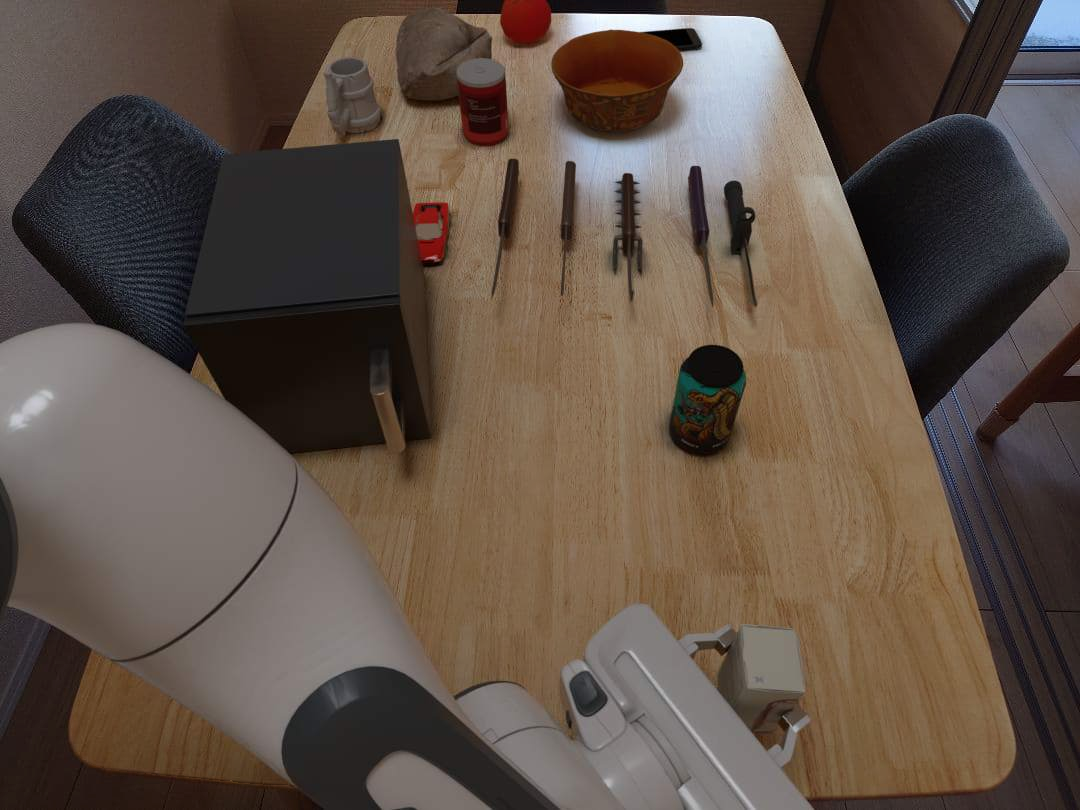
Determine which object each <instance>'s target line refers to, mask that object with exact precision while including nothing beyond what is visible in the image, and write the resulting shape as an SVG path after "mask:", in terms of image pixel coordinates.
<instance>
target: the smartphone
mask: <svg viewBox="0 0 1080 810" xmlns="http://www.w3.org/2000/svg"><path fill="white" fill-rule="evenodd" d="M641 32H642V33H647V34H650V35H654V36H657V37H660V38H662V39H665V40H667V41H669V42H670V43H672V44H673V45H674V46H675V47H676V48H677V49H678V50H679V51H684V50H696V49H697V50H698V49H700V48H702V47H703V42H702V40H701V38H700V36H699V35H698V33H697V30H696V29H695V28H692V27H685V28H673V29H661V30H648V31H647V30H646V31H641Z"/></svg>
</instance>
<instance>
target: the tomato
mask: <svg viewBox="0 0 1080 810" xmlns="http://www.w3.org/2000/svg"><path fill="white" fill-rule="evenodd" d="M499 24H500V27H501V29H502V31H503V34H504V35H505V37H507V38H508V39H510V40H511V41H513V42H514V43H518V44H532V43H535V42H538V41H539V40H541V39H543V38H544V37H545V36H546V34H547V32H548V31H549V30H550V28H551V24H552V9H551V6H550V4H549V2H548V1H547V0H504V1H503V3H502V6H501V10H500V19H499Z"/></svg>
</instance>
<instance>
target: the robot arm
mask: <svg viewBox="0 0 1080 810" xmlns="http://www.w3.org/2000/svg"><path fill="white" fill-rule="evenodd" d="M7 607H10V608H13V609H16V610H19V611H22V612H24V613H27V614H29V615H31V616H34V617H36V618H37V619H39V620H42V621H43V622H45V623H47V624H49V625H51V626H52V627H54V628H57V629H58V630H60V631H62V632H63V633H65V634H67V635H68V636H70V637H71V638H73V639H75V640H76V641H77V642H79V643H81V644H82V645H84V646H85V647H88V648H89V649H90V650H92V651H93V652H95V653H97V654H98V655H101V656H102V657H104V658H106V659H107V660H109V661H110V662H112V663H113V664H115V665H117V666H119V667H120V668H122V669H123V670H125V671H127V672H128V673H130V674H131V675H134V676H135V677H137V678H138V679H139V680H142V681H143V682H144V683H146V684H148V685H150V686H151V687H153V688H154V689H156V690H157V691H159V692H160V693H162V694H164V695H165V696H167V697H169V698H170V699H172V700H173V701H175V702H176V703H178V704H180V705H181V706H182V707H184V708H185V709H187V710H188V711H190V712H192V713H193V714H195V715H196V716H198V717H199V718H201V719H202V720H203V721H205V722H207V723H208V724H209V725H211V726H213V727H214V728H215V729H217V730H218V731H220V732H221V733H223V734H224V735H226V736H227V737H229V738H230V739H232V740H233V741H234V742H236V743H237V744H238V745H239V746H241V747H242V748H243V749H245V750H246V751H248V752H249V753H251V754H252V755H253V756H254V757H256V758H257V759H258V760H260V761H261V763H263V764H264V765H266V766H267V767H268V768H269V769H271V770H272V771H273V772H275V773H276V774H277V775H278V776H280V777H281V778H283V779H284V780H285V781H287V782H288V783H289V784H291V785H292V786H294V787H295V788H297V789H298V790H299V791H300V792H301V793H303V794H304V795H305V796H306V797H308V798H309V799H310V800H311V801H312V802H314V803H315V804H317V805H318V806H319V807H320V808H322V809H323V810H815V808H814V807H813V806H812V805H811V803H810V802H809V801H808V800H807V799H806V797H805V796H804V795H803V794H802V792H801V790H799V789H798V787H797V786H796V784H794V782H793V781H792V780H791V779H790V778H789V776H788V775H787V774H786V773H785V771H784V770H783V769H784V767H786V766H787V764H789V762H790V761H791V760H792V758H793V754H794V750H795V746H796V742H797V738H798V734H799V733H800V732H801V731H802V730H804V729H805V728H806V727H807V726H808V725H809V724H810V723H811V722H812V721H813V719H812V718H811V717H810V716H809V714H807V713H806V712H805V710H804V709H803V708H802V707H801V706H800V705H799V704H798V703H796V704H795V706H794V707H793V708H792V709H791V711H788V712H787V713H786V714H784V715H783V716H782V717H781V718H780V720H779V721H778V722H777V723H778V725H779V726H778V727H780V729H781V730H782V731H783V735H782V739H781V742H780V744H778V743H775V744H774V745H773V746H771V748H768V750H767V749H766V748H765V746H764V745H763V744H762V743H761V742H760V741H759V739H758V737H756V735H755V734H754V733H752V732H751V731H750V729H749V728H748V727H747V726H746V724H745V723H744V722H743V721H742V719H741V718H740V717H739V716H738V715H737V713H736V712H735V711H734V710H733V708H732V707H731V706H730V705H729V703H728V702H727V701H726V700H725V698H724V697H723V696H722V695H721V694H720V692H719V691H718V688H717V687H716V686H715V685H714V683H713V682H712V681H711V680H710V678H709V677H708V676H707V675H706V674H705V672H704V671H703V670H702V668H700V667H699V665H698V664H697V662H696V661H695V657H696V655H697V652H698V651H706V650H715V651H716V652H717V653H718V654H719V655H720V656H721V657H722V656H724V655H725V654H727V653H728V650H729V648H730V646H731V644H732V642H733V640H734V638H735V636H736V634H737V632H736V630H735V629H734V628H733V626H731V624H730V623H726V624H724V625H723V626H721V627H720V628H719V629H717V630H716V631H714V632H700V633H699V632H697V633H696V632H695V633H687V634H685V635H684V636H683V637H681V638H680V639H677V638H676V637H675V636H674V634H673V633H672V631H671V630H670V629H669V628H668V626H667V625H666V624H665V623H664V621H663V620H661V618H660V617H659V616H658V614H657V613H656V612H655V611H654V609H653V608H652V607H651V606H650V605H649V604H648V603H640V602H633V603H630V604H629V605H626V606H625V607H624V608H623V609H621V610H620V611H619V612H617V613H616V614H615V615H613V616H612V617H611V618H610V619H608V621H606V622H605V623H604V624H603V625H602V626H601V627H599V628H598V630H596V632H594V633H593V635H591V637H590V638H589V639H588V641H587V643H586V645H585V648H584V649H583V650H584V651H583V658H582V659H581V658H576V659H573V660H571V661H569V662H567V664H565V665H564V666H563V667H562V668H561V670H560V674H559V680H558V681H559V682H558V690H559V697H560V702H561V706H562V709H563V713H564V716H565V719H566V724H567V728H568V729H569V732H570V735H571V738H570V737H569V735H568V734H567V733H566V731H564V729H563V728H562V726H561V725H560V723H559V722H558V721H557V720H556V719H555V717H554V716H553V715H552V714H551V713H550V711H549V710H548V709H547V708H546V706H544V704H543V703H542V702H541V701H540V700H539V699H538V698H537V697H536V696H535V695H534V694H532V693H531V692H530V691H528V689H527V688H525V686H523V685H521V684H520V683H517V682H514V681H508V680H491V681H485V682H482V683H481V682H480V683H477V684H475V685H474V684H473V685H471V686H469V687H468V688H465V689H463V690H461V691H460V692H458V693H457V694H455V695H453V694H452V692H451V691H450V689H449V687H447V685H446V684H445V681H444V680H443V679H442V677H441V674H440V673H439V671H438V670H437V668H436V666H435V664H434V663H433V661H432V659H431V658H430V656H429V654H428V652H427V650H426V648H425V646H424V645H423V643H422V642H421V640H420V638H419V636H418V634H417V632H416V631H415V629H414V627H413V625H412V623H411V621H410V619H409V617H408V615H407V613H406V612H405V610H404V608H403V606H402V604H401V603H400V600H399V598H398V596H397V595H396V593H395V591H394V590H393V588H392V586H391V584H390V582H389V580H388V579H387V576H386V575H385V573H384V572H383V570H382V568H381V566H380V564H379V563H378V562H377V560H376V558H375V556H374V555H373V553H372V552H371V550H370V548H369V547H368V546H367V544H366V542H365V541H364V539H363V538H362V536H361V534H360V533H359V531H358V530H357V528H356V527H355V526H354V524H353V523H352V521H351V520H350V518H348V516H347V515H346V513H345V512H344V511H343V510H342V509H341V507H340V506H339V505H338V503H337V502H336V500H335V499H334V498H333V497H332V496H331V494H330V493H329V492H328V491H327V490H326V488H325V487H324V486H323V485H322V484H321V483H320V482H319V481H318V480H317V479H316V478H315V477H314V475H312V473H310V471H308V470H307V468H305V467H304V466H303V465H302V464H301V463H300V462H299V461H298V460H297V459H296V458H295V456H293V455H291V453H288V452H287V451H286V450H285V449H284V448H283V447H282V446H281V445H280V444H278V443H277V442H276V441H275V440H274V439H273V438H272V437H271V436H270V435H268V434H267V433H266V432H265V431H264V430H263V429H262V428H260V427H259V426H258V425H257V424H256V423H254V422H253V421H252V420H251V419H249V418H248V417H247V416H246V415H244V414H243V413H242V412H241V411H240V410H238V409H237V408H236V407H235V406H233V405H232V404H231V403H229V402H228V401H227V400H225V399H224V397H223V396H222V395H220V394H218V393H217V392H216V391H215V390H213V389H212V388H211V387H209V386H208V385H206V384H205V383H203V382H202V381H200V380H199V379H198V378H196V377H195V376H194V375H192V374H190V373H189V372H187V371H186V370H184V369H183V368H181V367H180V366H178V365H177V364H175V363H174V362H172V361H171V360H169V359H168V358H166V357H164V356H163V355H161V354H159V353H158V352H156V351H155V350H153V349H151V348H150V347H148V346H146V345H145V344H143V343H142V342H140V341H138V340H136V339H135V338H134V337H132V336H130V335H128V334H126V333H124V332H121V330H117V329H114V328H110V327H107V326H105V325H100V324H94V323H89V322H69V323H67V322H66V323H57V324H53V325H49V326H44V327H39V328H36V329H33V330H29V331H26V332H23V333H21V334H18V335H15V336H13V337H11V338H8V339H6V340H4V341H2V342H0V621H1V620H2V618H3V616H4V614H5V612H6V609H7Z"/></svg>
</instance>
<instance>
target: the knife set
mask: <svg viewBox="0 0 1080 810" xmlns="http://www.w3.org/2000/svg"><path fill="white" fill-rule="evenodd" d="M564 166H565V167H564V179H563V180H564V181H563V194H562V206H561V220H560V239H561V240H562V241H564V242H563V255H562V267H561V280H560V281H561V282H560V283H561V284H560V296H561V297H563V296H564V289H565V274H566V260H567V258H566V257H567V243H568V241H571V240H572V238H573V226H574V225H573V224H574V208H575V190H576V176H577V175H576V174H577V173H576V172H577V164H576V162H574V161H572V160H566V162H565V165H564ZM702 172H703V171H702V167H701V166H700V165H691V166H690V167H689V173H688V176H687V185H688V195H689V206H690V208H689V209H690V218H691V226H692V232H693V239H694V244H695V246H698V247H699V248H700V252H702V258H703V266H704V272H705V278H706V286H707V290H708V291H707V292H708V296H709V301H710V304H711V307H712V308H713V307H714V295H713V286H712V278H711V272H710V271H711V270H710V263H709V262H710V261H709V257H708V248H707V244H708V239H709V235H710V226H709V220H708V216H707V210H706V209H707V208H706V201H705V193H704V182H703V181H704V180H703V173H702ZM519 176H520V163H519V159H517V158H508V160H507V165H506V172H505V179H504V185H503V191H502V199H501V205H500V210H499V213H498V219H497V228H498V229H497V230H498V231H497V233H498V237H500V238H499V246H498V252H497V258H496V263H495V271H494V275H493V281H492V282H493V283H492V288H491V297H490V298H491V299H490V300H491V301H492V299H493V297H494V295H495V292H496V289H497V283H498V279H499V278H498V277H499V273H500V267H501V261H502V256H503V249H504V243H505V239H508V238H510V236H511V232H512V228H513V227H512V226H513V221H514V214H515V207H516V206H515V205H516V198H517V191H518V183H519ZM614 183H615V184H619V185H620V186H621V188H620V190H616V191H614V193H617V194H621V199H620V200H619V199H618V200H614V201H613V202H615V203H618V204H620V205H621V211H618V212H614V214H615V215H619V216H621V224H616V225H615V227H616V228H619V229H621V235H616V236H615V237H614V238H613V241H612V242H613V243H612V244H613V245H612V268H613V269H614V270H616V269H617V267H618V246H619V241H621V249H622V251H623V252H626V257H627V285H628V287H627V288H628V294H629V297H628V298H629V301H630V303H632V302H633V299H634V295H635V291H634V290H633V285H632V282H633V281H632V259H631V258H632V257H631V253H632V252H633V251H634V248H635V242H637V252H636V253H637V254H636V255H637V269H638V270H639V271H642V270H643V238H642V237H641V236H637V235H636V229H640V228H642V226H639V225H636V223H635V222H636V221H635V219H636V218H635V217H636V216H641V215H643V214H642V213H639V212H635V205H637V204H641V203H642V202H641V201H637V200H635V195H638V194H641V192H639V191H636V190H635V188H634V187H635V185H640V184H641V182H639V181H634V174H633V173H631V172H625V173H623V174H622V176H621V180H617V181H614ZM723 195H724V198H725V200H726V205H727V210H728V211H727V212H728V217H729V223H730V228H731V238H730V253H731V254H732V255H733V254H734V255H735V254H736V255H740V256H741V261H742V266H743V271H744V279H745V284H746V291H747V297H748V300H749V304H750V305H751V306H753V307H754V308H757V307H758V301H757V297H756V291H755V284H754V277H753V270H752V265H751V259H750V254H749V248H748V247H749V244H750V240H751V236H752V232H753V226H752V224H753V223H754V222H755V221H756V212H755V210H754V208H753V207H750V206H745V203H744V197H743V196H744V191H743V186H742V183H741V182H740V181H739V180H734V179H733V180H730V181H727V182H726V183H725V184H724V186H723ZM747 214H750V216H749V217H747Z"/></svg>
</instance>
